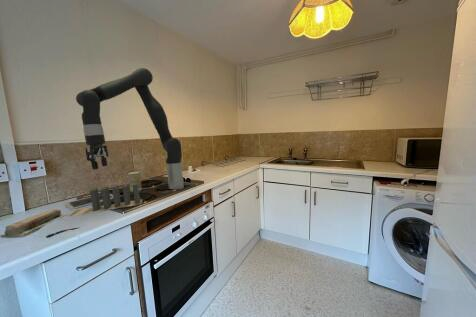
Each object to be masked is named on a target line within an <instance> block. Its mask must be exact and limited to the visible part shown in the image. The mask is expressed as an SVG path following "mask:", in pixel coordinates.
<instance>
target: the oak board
mask: <svg viewBox="0 0 476 317" xmlns="http://www.w3.org/2000/svg"><path fill="white" fill-rule="evenodd" d="M130 201H131V202H130V205H127V206H125V201H124V202H121V204H120V206H119V207H115V205H114V203H111V206H110V207H109V209H104V205H101V207H100V208H99V209H98V210H96V211H93V207H87V208H81V209H80V208H79V209H74V210H73V212H72V213H70V214H68V217H74V216H80V215H85V214H90V213H91V214H92V213H96V212H103V211H108V210H114V209H119V208H120V209H121V208H127V207H131V206H137V205H142V203H143V199H141V198H140V202H139V204H135V200H130Z"/></svg>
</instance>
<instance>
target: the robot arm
mask: <svg viewBox="0 0 476 317" xmlns="http://www.w3.org/2000/svg"><path fill="white" fill-rule="evenodd" d="M153 78H154V77H153V74H152V72H151V71H150V70H149V69H147V68H145V67H140V68H138V69H137V68H136V70H134V71H133V72H131V74H128V75H126V76H123V77H121V78H117V79H114V80H111V81H108V82H105V83H103V84H99V85H98V86H95V87H93V88H91V89H85V90H82V91H80V92H78V93H77V94H76V97H75V100H76V103H77V104H78V105H79V106H80V107H82V110H83V111H82V113H81V120H82V125H83V128H82V129H83V130H82V131H83V134H84V140H85V144H86V145H87V146H89V147H85V155H86V160H87V161H88V162H91V168H92V170H98V169H99V164H98V158H100V161H101V166H102V167H107V166H108V160H107V159H108V157H109V151H108V146H107V145H106V139H105V133H104V132H105V131H104V128H103V125H102V120H101V103H102V102H103V101H108V100H110V99H113V98H116V97H117V96H121V95H122V94H123V93H126V92H128V91H130V90H131V89H133V88H135V90H136V92H137V93H138V95H139V98H140V99H141V101H142V103H143V105H144V108H145V109H146V111H147V115H148V117H149V118H150V120H151V122H152V124H153V126H154V128H155V130H156V132H157V134H158V136H159V139H160V142H161V146H162V147H163V150H165V151H166V152H167V153H166V155H167V157H166V158H165V161H166V162H165V163H166V174H167V181H168V189H170V190H175V191H177V190H182V189H184V188H185V187H184V186H185V185H184V174H183V167H182V157H183V156H182V155H183V154H182V144H181V141H180V140H179V139H177V138H175V137H173V136H172V134H171V132H170V129H169V122H168V117H167V115H166V112H165V110H164V108H163V106H162V104H161V103H160V102H159V101H158V100H157V99H156V98H155V97H154V96H153V94H152V92H151V90H150V88H149V85H151V84H152V82H153V80H154V79H153ZM104 144H105V145H104Z"/></svg>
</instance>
